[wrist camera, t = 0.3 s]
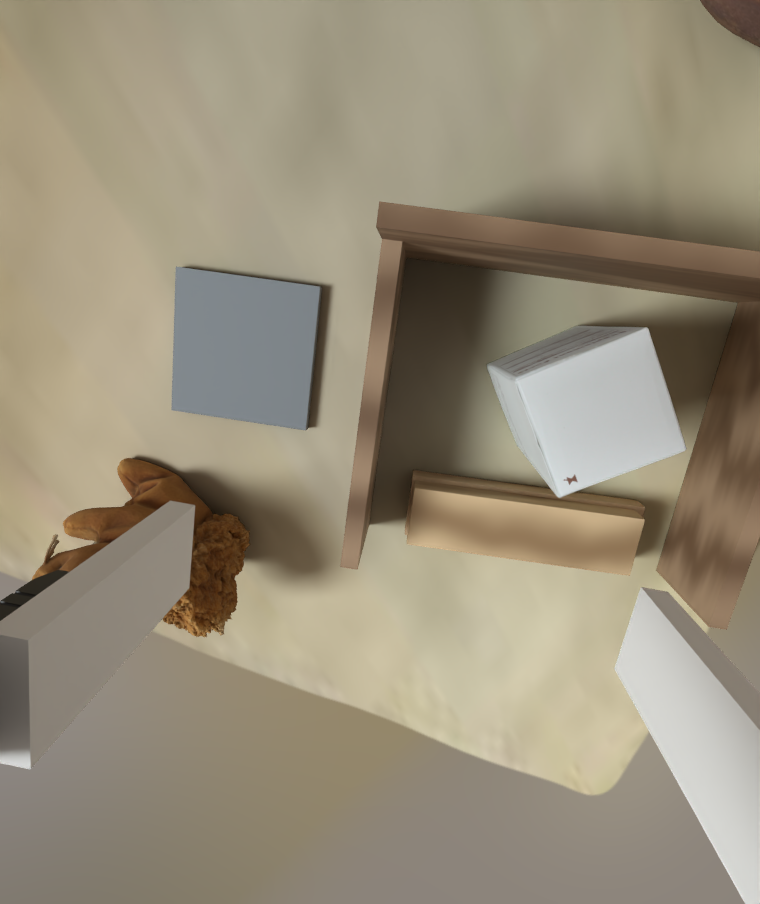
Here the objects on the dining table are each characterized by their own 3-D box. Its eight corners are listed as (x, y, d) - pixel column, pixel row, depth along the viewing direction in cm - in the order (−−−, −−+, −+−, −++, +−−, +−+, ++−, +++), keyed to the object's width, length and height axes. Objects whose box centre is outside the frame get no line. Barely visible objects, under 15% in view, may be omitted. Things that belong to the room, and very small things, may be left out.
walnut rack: (392, 238, 37) (379, 201, 26) (760, 287, 36) (919, 272, 25) (354, 522, 43) (330, 597, 32) (670, 572, 42) (764, 668, 31)
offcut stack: (413, 468, 42) (412, 483, 38) (635, 498, 41) (657, 517, 37) (405, 524, 43) (403, 545, 40) (620, 554, 43) (640, 578, 39)
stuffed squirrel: (120, 451, 43) (-5, 505, 31) (279, 500, 43) (220, 574, 31) (104, 553, 46) (-18, 643, 33) (253, 599, 46) (189, 706, 33)
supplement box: (608, 413, 39) (692, 455, 27) (515, 448, 41) (555, 503, 28) (578, 322, 38) (652, 323, 26) (483, 360, 39) (510, 380, 27)
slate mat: (180, 267, 39) (175, 266, 38) (322, 287, 39) (320, 286, 38) (176, 408, 42) (171, 410, 41) (307, 428, 42) (305, 430, 41)
